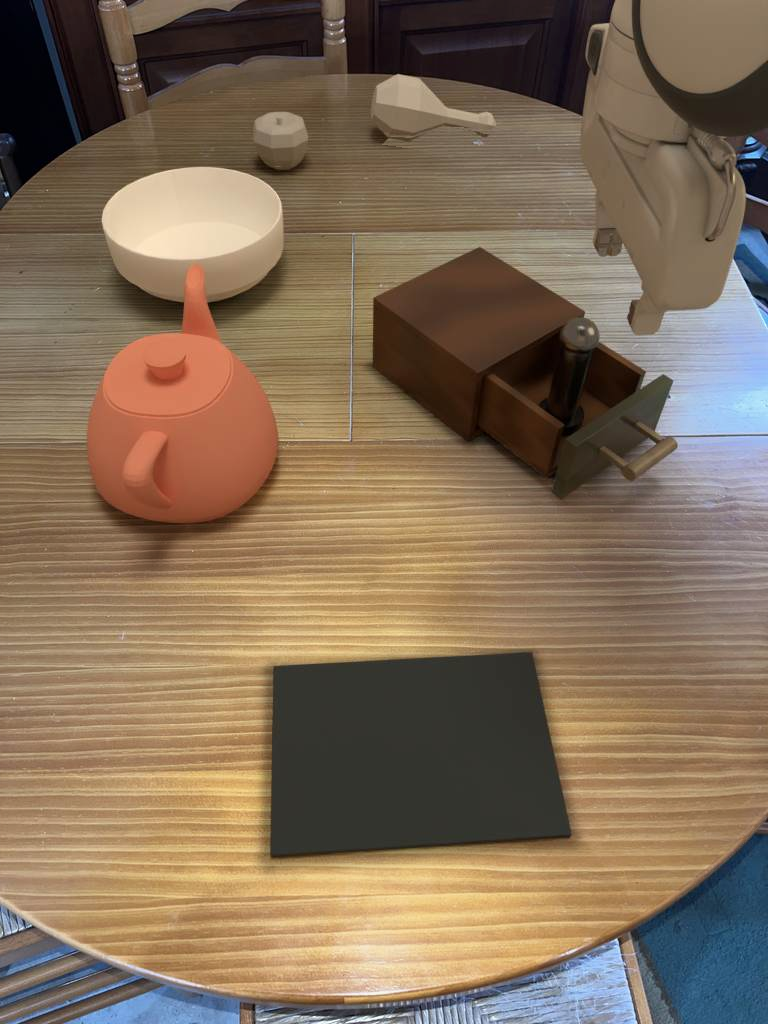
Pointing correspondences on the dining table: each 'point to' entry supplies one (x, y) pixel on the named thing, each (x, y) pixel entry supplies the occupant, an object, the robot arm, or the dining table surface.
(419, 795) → the mat
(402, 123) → the chicken leg
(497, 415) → the drawer
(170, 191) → the bowl
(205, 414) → the teapot
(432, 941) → the dining table surface
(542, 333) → the cabinet
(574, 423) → the domed metal post
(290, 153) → the apple
